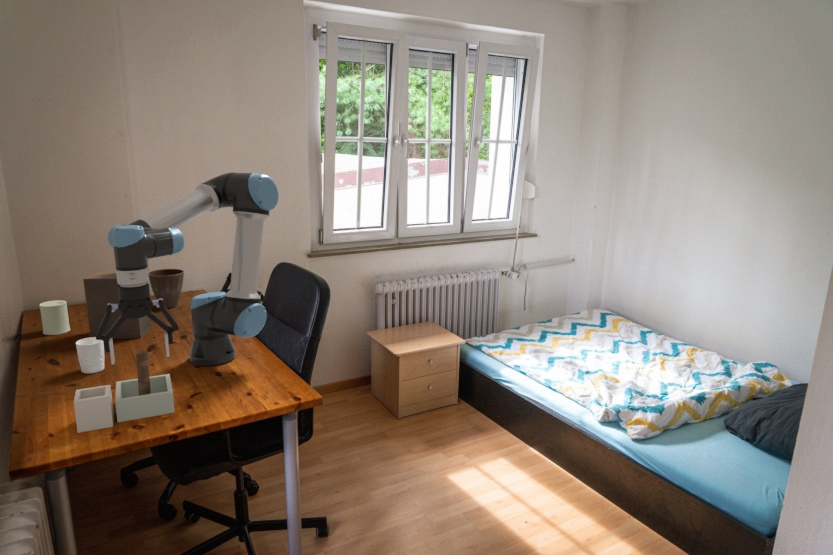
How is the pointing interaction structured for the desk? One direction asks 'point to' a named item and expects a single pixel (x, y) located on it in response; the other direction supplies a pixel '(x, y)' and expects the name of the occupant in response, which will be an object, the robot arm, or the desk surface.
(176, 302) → the plant pot
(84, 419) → the pen pot
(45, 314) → the can
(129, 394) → the bin
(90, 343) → the white cup
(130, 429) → the desk surface
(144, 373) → the dowel
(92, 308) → the two-tier brown block
